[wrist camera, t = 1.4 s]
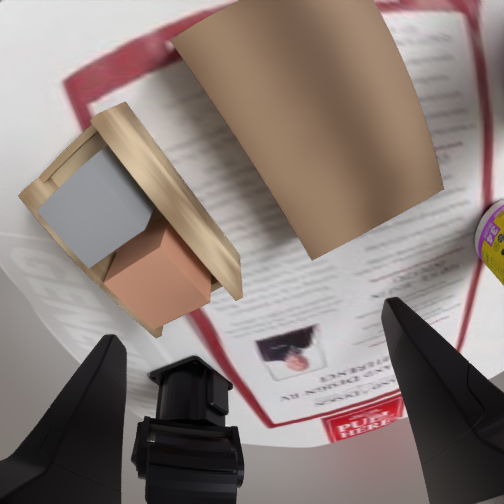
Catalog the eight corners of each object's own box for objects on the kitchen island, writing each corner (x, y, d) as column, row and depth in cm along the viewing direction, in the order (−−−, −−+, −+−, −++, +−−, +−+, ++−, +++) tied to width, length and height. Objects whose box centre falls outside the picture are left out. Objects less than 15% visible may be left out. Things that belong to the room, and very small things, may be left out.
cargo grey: (109, 231, 19) (88, 268, 16) (66, 181, 17) (36, 210, 14) (159, 196, 18) (144, 229, 15) (115, 138, 16) (88, 160, 13)
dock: (302, 235, 22) (311, 260, 20) (178, 44, 15) (169, 40, 12) (421, 172, 20) (444, 189, 17) (330, -28, 12) (348, -41, 10)
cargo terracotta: (161, 288, 22) (152, 330, 19) (120, 245, 20) (103, 283, 16) (212, 261, 21) (210, 302, 18) (171, 211, 19) (159, 247, 15)
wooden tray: (239, 255, 23) (242, 297, 19) (164, 295, 24) (156, 338, 21) (125, 101, 16) (97, 114, 12) (52, 168, 18) (17, 196, 14)
